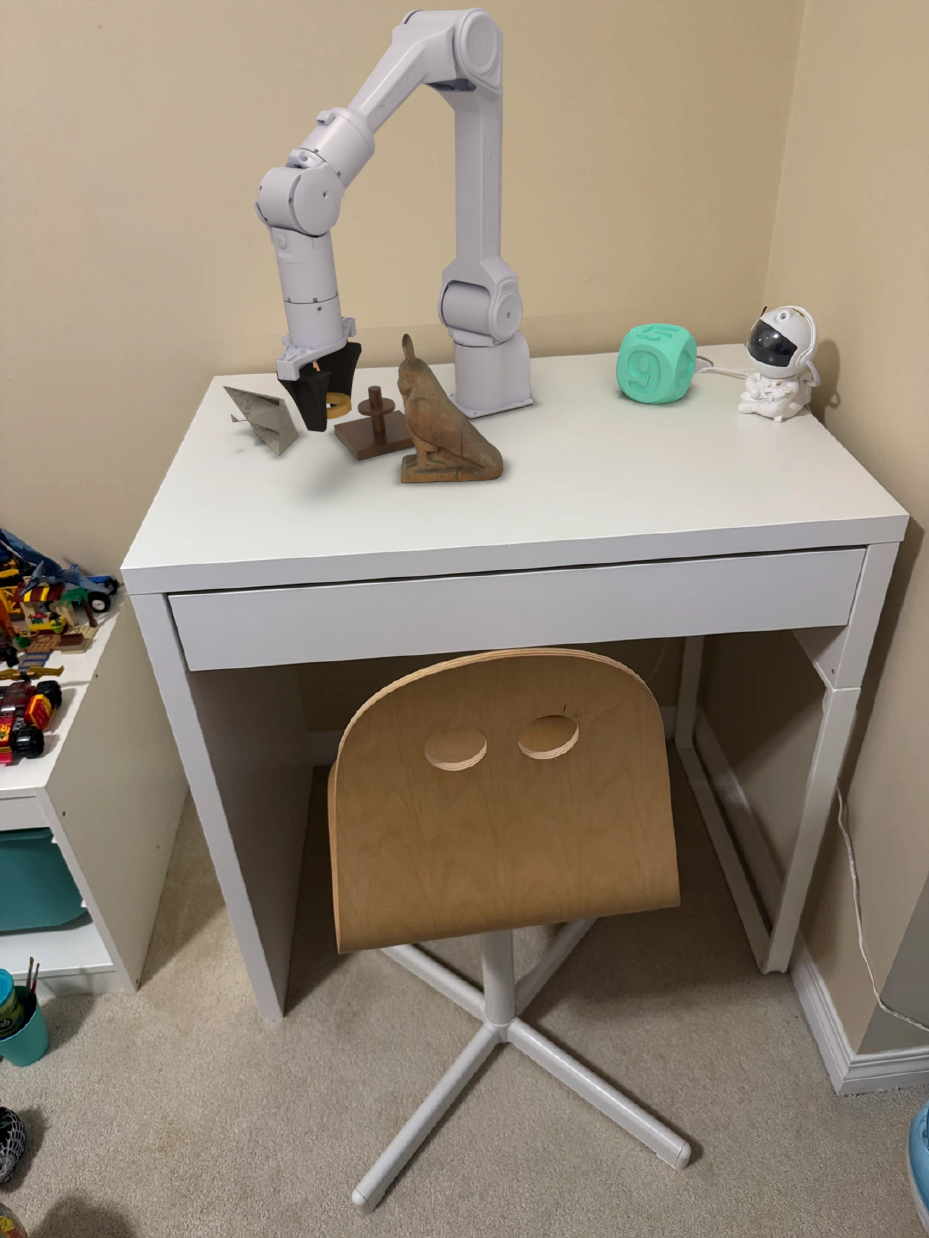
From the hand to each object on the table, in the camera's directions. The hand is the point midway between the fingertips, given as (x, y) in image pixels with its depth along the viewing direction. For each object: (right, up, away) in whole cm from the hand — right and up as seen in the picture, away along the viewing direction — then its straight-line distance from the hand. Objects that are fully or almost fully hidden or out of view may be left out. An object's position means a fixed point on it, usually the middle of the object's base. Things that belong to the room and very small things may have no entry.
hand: (329, 419), depth 101 cm
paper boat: (-10, 0, +14) cm, 17 cm away
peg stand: (+5, 0, +12) cm, 13 cm away
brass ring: (0, +1, -1) cm, 1 cm away
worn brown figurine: (+14, -6, +3) cm, 15 cm away
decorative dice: (+41, +8, +19) cm, 46 cm away
